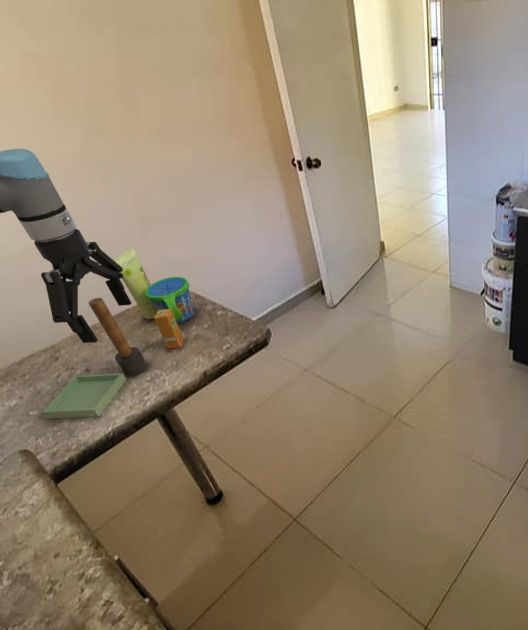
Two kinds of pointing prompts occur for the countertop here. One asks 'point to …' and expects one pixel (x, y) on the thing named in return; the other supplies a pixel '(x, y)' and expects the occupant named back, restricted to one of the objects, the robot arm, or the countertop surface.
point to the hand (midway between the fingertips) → (109, 322)
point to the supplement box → (169, 328)
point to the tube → (136, 282)
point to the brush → (119, 341)
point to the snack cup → (172, 297)
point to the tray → (85, 396)
